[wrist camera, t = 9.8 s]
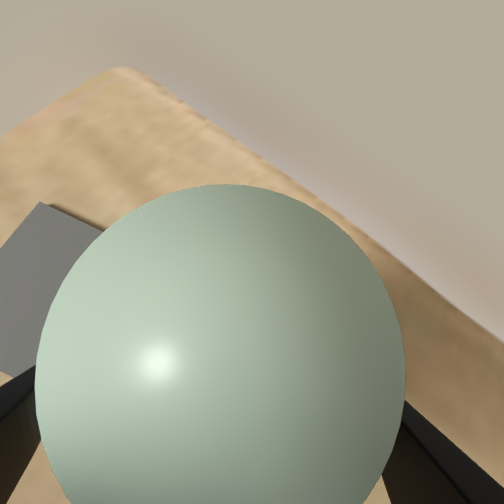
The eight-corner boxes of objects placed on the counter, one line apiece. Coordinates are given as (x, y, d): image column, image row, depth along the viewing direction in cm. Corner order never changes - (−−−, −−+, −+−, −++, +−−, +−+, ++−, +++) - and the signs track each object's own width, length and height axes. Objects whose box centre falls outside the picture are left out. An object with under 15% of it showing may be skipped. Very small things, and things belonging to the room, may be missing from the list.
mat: (168, 264, 20) (167, 262, 19) (83, 408, 16) (79, 409, 16) (43, 205, 20) (39, 201, 20) (-65, 335, 17) (-73, 334, 16)
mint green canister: (297, 358, 18) (472, 356, 6) (208, 449, 16) (208, 726, 4) (223, 273, 19) (249, 132, 7) (131, 348, 17) (-52, 324, 5)
